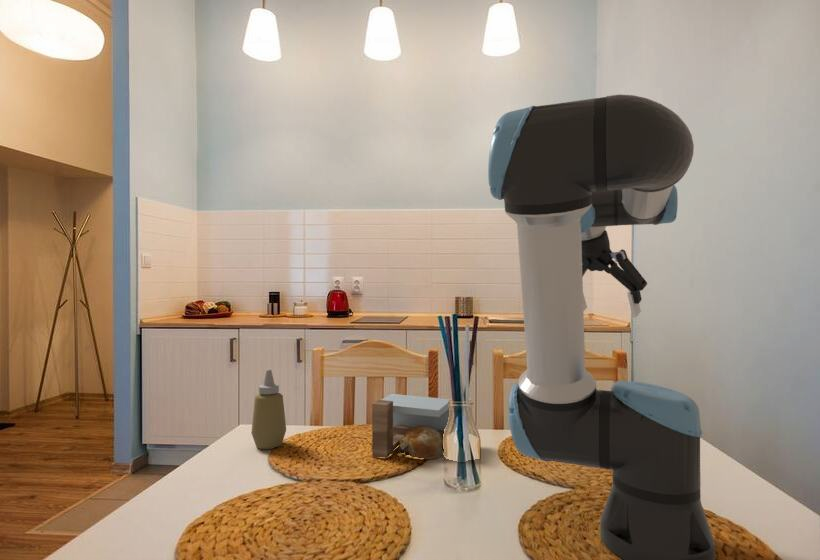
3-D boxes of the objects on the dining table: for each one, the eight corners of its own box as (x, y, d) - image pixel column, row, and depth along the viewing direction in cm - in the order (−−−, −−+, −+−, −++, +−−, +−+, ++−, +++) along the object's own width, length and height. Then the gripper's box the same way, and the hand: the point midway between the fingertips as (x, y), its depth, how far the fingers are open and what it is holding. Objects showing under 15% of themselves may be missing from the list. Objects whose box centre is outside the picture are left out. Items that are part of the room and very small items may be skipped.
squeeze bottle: (243, 449, 112) (243, 372, 112) (264, 438, 120) (264, 366, 120) (274, 453, 110) (274, 374, 110) (292, 441, 117) (292, 368, 117)
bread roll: (436, 478, 105) (452, 445, 105) (394, 457, 105) (409, 424, 105) (435, 461, 115) (449, 430, 115) (396, 442, 115) (410, 412, 115)
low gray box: (438, 457, 107) (438, 410, 107) (373, 448, 113) (373, 403, 113) (452, 442, 116) (452, 399, 116) (391, 435, 122) (391, 393, 122)
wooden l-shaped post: (433, 466, 102) (432, 409, 102) (370, 457, 107) (370, 403, 107) (452, 445, 115) (452, 395, 115) (395, 437, 120) (395, 389, 120)
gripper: (651, 223, 104) (668, 307, 111) (550, 229, 123) (570, 301, 130) (637, 238, 100) (655, 325, 107) (534, 242, 119) (556, 315, 126)
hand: (608, 312), depth 118 cm, fingers open, 13 cm apart
